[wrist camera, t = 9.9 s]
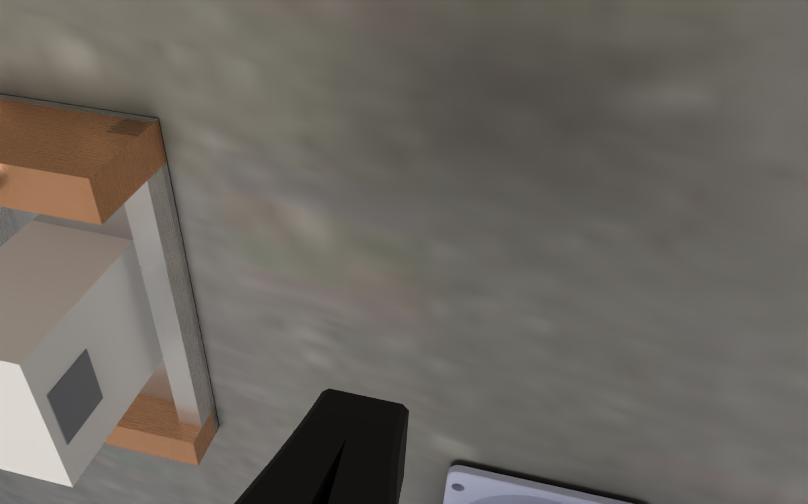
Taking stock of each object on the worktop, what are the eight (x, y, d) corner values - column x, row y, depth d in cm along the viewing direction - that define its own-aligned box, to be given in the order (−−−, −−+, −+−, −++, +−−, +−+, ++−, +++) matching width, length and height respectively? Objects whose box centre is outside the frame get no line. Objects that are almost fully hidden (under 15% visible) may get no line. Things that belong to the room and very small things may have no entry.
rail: (219, 427, 30) (172, 512, 26) (66, 392, 31) (3, 470, 27) (158, 118, 20) (75, 190, 17) (-57, 85, 21) (-174, 146, 18)
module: (164, 358, 27) (74, 487, 22) (72, 338, 28) (-35, 460, 23) (135, 240, 23) (20, 365, 19) (30, 220, 24) (-107, 335, 19)
